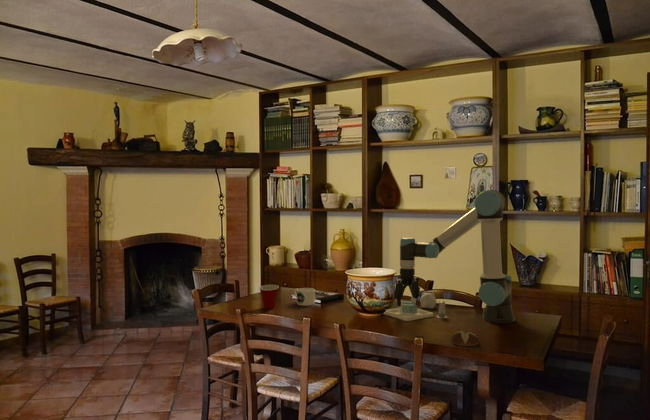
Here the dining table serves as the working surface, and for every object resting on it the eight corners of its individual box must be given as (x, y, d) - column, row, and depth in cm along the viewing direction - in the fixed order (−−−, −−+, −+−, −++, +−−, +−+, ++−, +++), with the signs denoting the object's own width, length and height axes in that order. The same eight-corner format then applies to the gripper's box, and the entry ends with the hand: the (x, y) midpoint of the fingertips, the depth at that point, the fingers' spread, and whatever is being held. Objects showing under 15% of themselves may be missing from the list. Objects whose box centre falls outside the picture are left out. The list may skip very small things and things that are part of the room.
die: (438, 308, 284) (430, 292, 288) (440, 303, 276) (431, 287, 281) (424, 314, 283) (416, 298, 288) (425, 309, 275) (417, 293, 280)
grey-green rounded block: (395, 310, 267) (395, 302, 267) (407, 308, 271) (407, 300, 271) (409, 314, 258) (409, 306, 258) (421, 312, 262) (421, 304, 262)
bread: (450, 345, 214) (450, 334, 214) (454, 338, 225) (454, 327, 225) (478, 349, 210) (478, 337, 210) (480, 341, 221) (480, 329, 221)
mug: (318, 303, 293) (318, 289, 293) (308, 306, 284) (308, 292, 284) (299, 300, 300) (299, 286, 300) (288, 303, 291) (288, 289, 291)
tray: (433, 316, 262) (433, 312, 262) (406, 321, 252) (406, 317, 252) (409, 309, 277) (409, 306, 277) (383, 314, 267) (383, 310, 267)
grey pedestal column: (450, 317, 260) (450, 302, 260) (441, 319, 257) (442, 303, 257) (441, 315, 265) (441, 300, 265) (433, 316, 262) (433, 301, 262)
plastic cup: (254, 308, 278) (254, 286, 278) (267, 305, 288) (267, 283, 287) (271, 311, 273) (271, 289, 272) (282, 307, 282) (283, 285, 282)
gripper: (417, 265, 273) (416, 307, 274) (386, 268, 262) (386, 312, 263) (427, 267, 267) (426, 310, 268) (396, 270, 256) (395, 315, 257)
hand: (406, 311), depth 265 cm, fingers closed on grey-green rounded block, 8 cm apart
